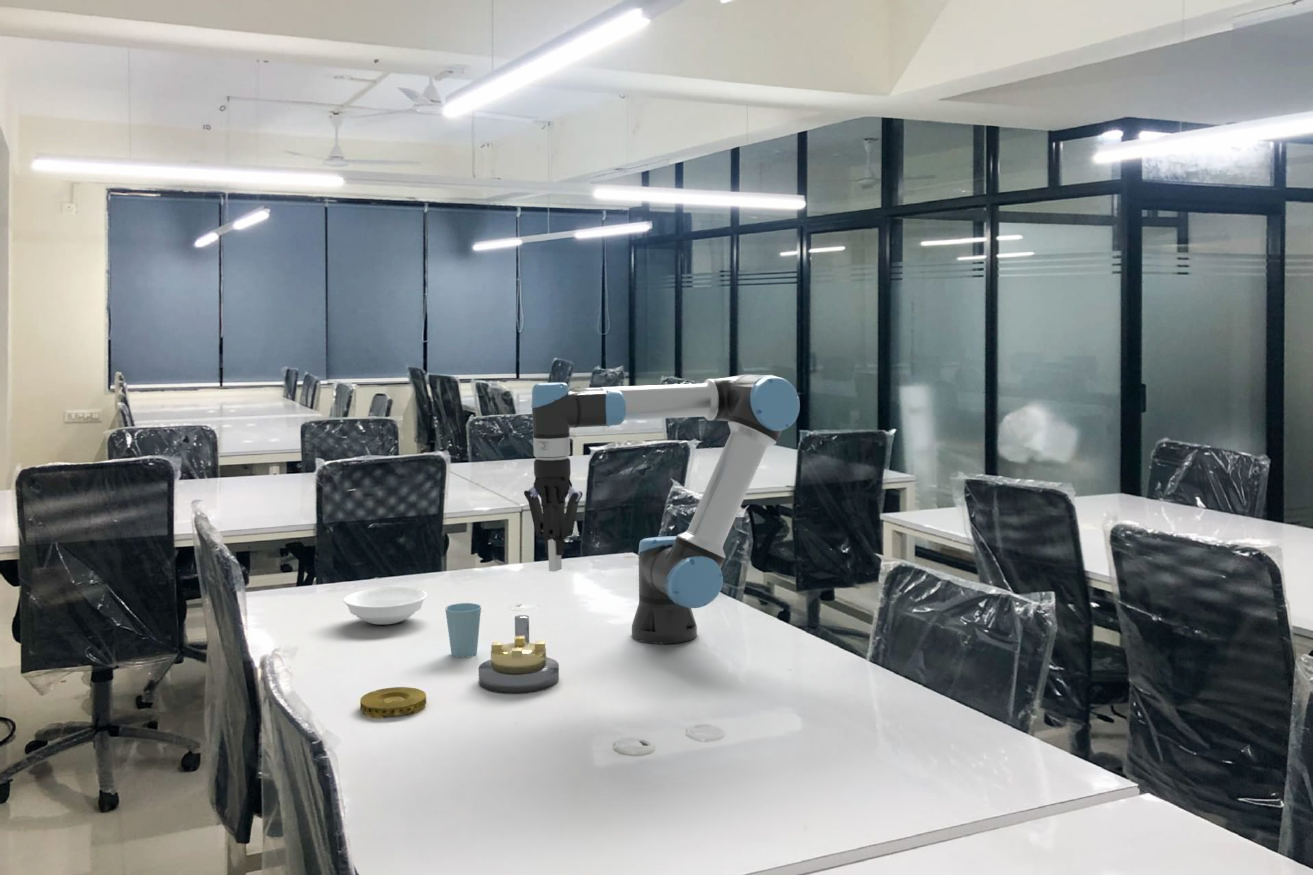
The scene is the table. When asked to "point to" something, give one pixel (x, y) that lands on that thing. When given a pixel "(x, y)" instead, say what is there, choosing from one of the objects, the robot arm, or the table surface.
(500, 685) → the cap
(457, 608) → the cup
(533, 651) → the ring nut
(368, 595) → the bowl
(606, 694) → the table surface
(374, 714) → the gold gear disc
